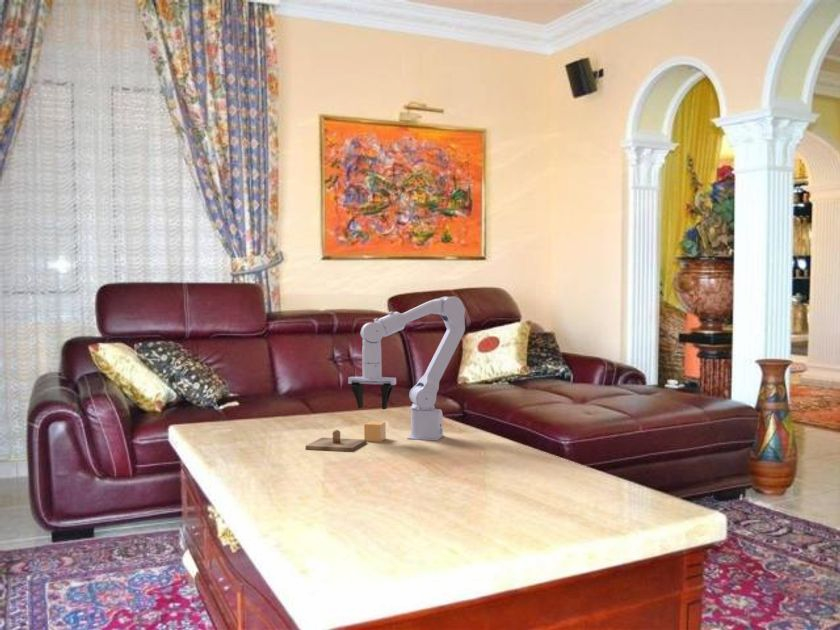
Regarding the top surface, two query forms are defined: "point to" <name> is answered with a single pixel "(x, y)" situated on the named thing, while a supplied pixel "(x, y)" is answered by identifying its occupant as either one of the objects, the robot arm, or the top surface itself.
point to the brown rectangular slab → (336, 443)
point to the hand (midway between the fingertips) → (372, 408)
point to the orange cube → (375, 431)
